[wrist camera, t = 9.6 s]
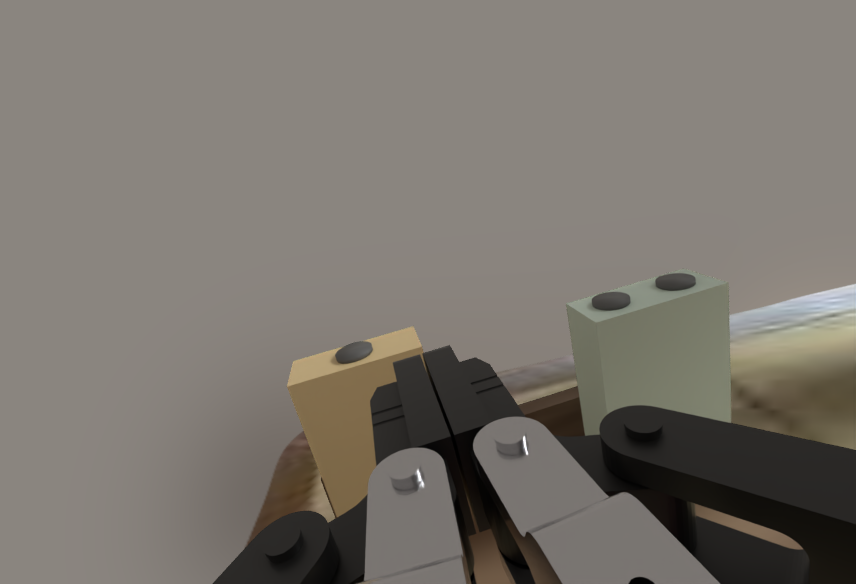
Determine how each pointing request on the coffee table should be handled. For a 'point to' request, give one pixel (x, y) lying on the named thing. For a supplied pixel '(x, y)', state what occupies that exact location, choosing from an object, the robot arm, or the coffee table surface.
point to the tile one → (346, 408)
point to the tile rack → (566, 420)
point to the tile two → (654, 347)
